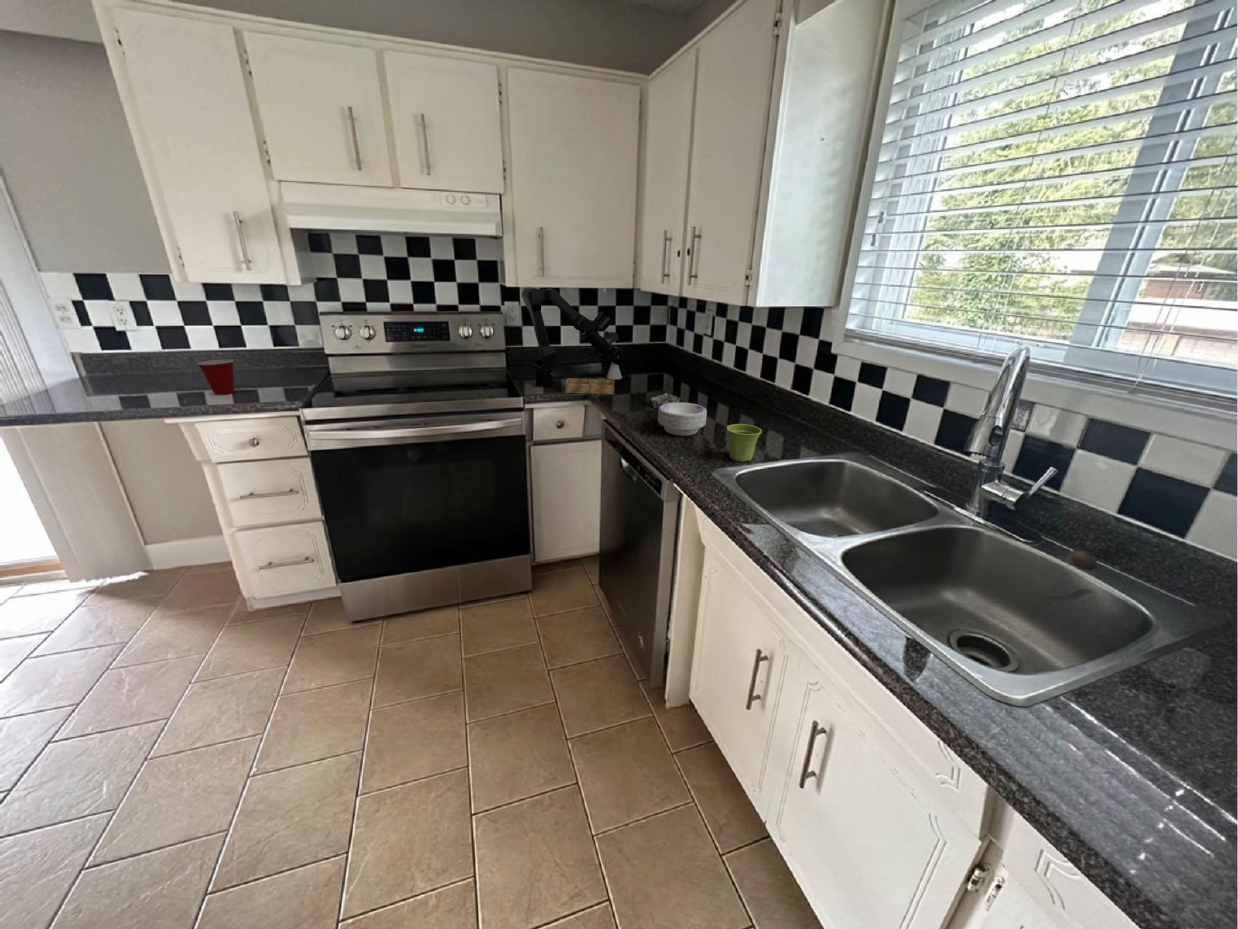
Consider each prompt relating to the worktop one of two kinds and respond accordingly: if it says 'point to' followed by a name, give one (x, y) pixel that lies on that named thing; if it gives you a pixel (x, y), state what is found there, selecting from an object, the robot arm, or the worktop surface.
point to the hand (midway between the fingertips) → (617, 363)
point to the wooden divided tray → (589, 386)
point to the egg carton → (664, 400)
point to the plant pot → (742, 441)
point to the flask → (614, 372)
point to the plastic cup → (219, 375)
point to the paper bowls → (682, 418)
